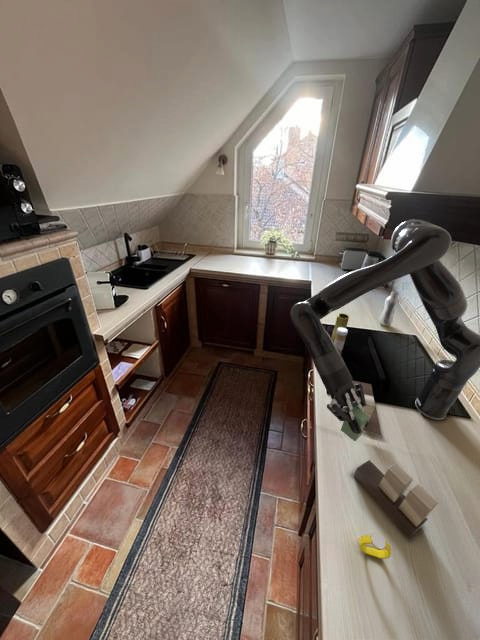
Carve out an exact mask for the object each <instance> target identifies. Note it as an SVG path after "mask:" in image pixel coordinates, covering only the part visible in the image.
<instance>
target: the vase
mask: <svg viewBox="0 0 480 640" xmlns="http://www.w3.org/2000/svg"><path fill="white" fill-rule="evenodd" d="M349 319H350V316H349V315H348V314H347V313H338V314H337V317H336V320H335V323H334V328H333V331H332V334H331V336H330V337H331V339H332V341H333V343H334V341H335V337H336V333H337V328H339V327H343V328H346V329H347V326H348V323H349Z"/></svg>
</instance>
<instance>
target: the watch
mask: <svg viewBox="0 0 480 640" xmlns="http://www.w3.org/2000/svg"><path fill="white" fill-rule="evenodd" d="M358 542H359V548H360V550H361V552H363V553H364V554H366V555H368V556H372V557H373V558H374V557H375V558H377V559H383V560H384V559H385V560H386V559H389V558H390V557H391V556H392V552H391V546H390V544H389V543H388V542H387V541H386V540H385V538H384V537H383V536H382V534H380V533H378V532H373V533H371V535H368V534H367V535H363V536H360V538H359V540H358ZM367 544H370V545H372V546H373V547H374V548H373V547H370V546H367Z"/></svg>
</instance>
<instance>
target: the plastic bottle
mask: <svg viewBox="0 0 480 640" xmlns="http://www.w3.org/2000/svg"><path fill="white" fill-rule="evenodd" d="M400 294H401V293H400V292H399V291H397V290H392V291H391V293H390V295H389V296H388V297H386V299H385V302H384V307H383V311H382V313H381V315H380V317H379V318H378V323H379V324H380V325H381V326H385V327H389V326H392V324H393V322H394V321H393V320H394V315H395V312H396V310H397V308H398V306H399V304H400V298H399V297H400Z"/></svg>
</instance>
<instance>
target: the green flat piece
mask: <svg viewBox="0 0 480 640" xmlns="http://www.w3.org/2000/svg"><path fill="white" fill-rule="evenodd" d="M352 407H353V410H352V412H353V414H354V417H355V419H356V421H357V423H358V425H359V427H360V429H361V431H362V432H361V433H360V434H356V433H354V432H352V430H351V428H350V426H349V424H348V422H347V421H342V425H341V428H340V431H341V432H342V433H343V434H344V435H346V436H347V437H348V438H350V439H351V440H352V441H354V442H356V441H357V440H358V439H360V437H362V434H363V431H364V430H363V429H364V427H365V425H366V422H367V420H368V417H369V416H368V415H367V414H365V413H364V412H362V411H361V410H360V409H358V408H357V407H355V406H354V405H353V406H352ZM346 412H347V411H346ZM347 415H349V414H348V412H347Z"/></svg>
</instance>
